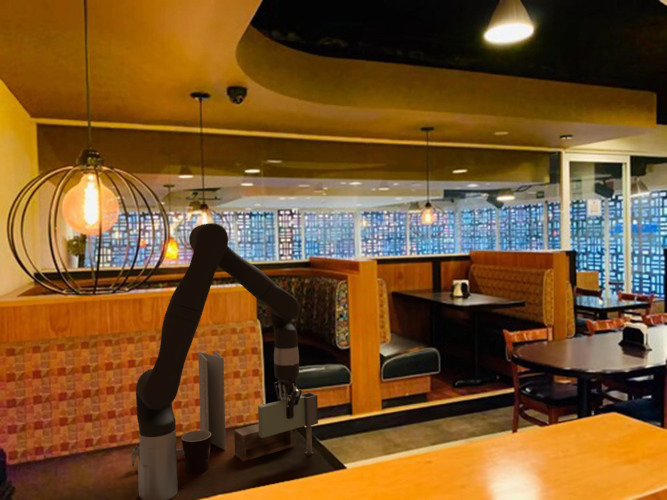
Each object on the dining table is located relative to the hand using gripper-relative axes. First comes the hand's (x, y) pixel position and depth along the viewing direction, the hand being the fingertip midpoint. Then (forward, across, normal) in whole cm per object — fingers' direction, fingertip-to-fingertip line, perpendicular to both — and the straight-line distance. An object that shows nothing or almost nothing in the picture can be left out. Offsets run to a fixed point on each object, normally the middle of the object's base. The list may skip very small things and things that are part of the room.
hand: (288, 417), depth 156 cm
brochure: (+14, -27, -14) cm, 33 cm away
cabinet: (+13, -11, -3) cm, 17 cm away
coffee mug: (+13, -13, -24) cm, 30 cm away
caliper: (+14, -23, -30) cm, 40 cm away
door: (+4, 0, -2) cm, 4 cm away
